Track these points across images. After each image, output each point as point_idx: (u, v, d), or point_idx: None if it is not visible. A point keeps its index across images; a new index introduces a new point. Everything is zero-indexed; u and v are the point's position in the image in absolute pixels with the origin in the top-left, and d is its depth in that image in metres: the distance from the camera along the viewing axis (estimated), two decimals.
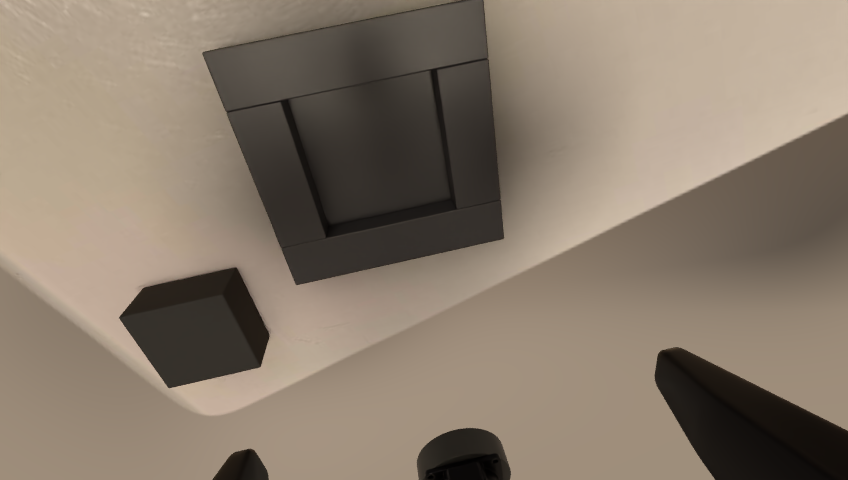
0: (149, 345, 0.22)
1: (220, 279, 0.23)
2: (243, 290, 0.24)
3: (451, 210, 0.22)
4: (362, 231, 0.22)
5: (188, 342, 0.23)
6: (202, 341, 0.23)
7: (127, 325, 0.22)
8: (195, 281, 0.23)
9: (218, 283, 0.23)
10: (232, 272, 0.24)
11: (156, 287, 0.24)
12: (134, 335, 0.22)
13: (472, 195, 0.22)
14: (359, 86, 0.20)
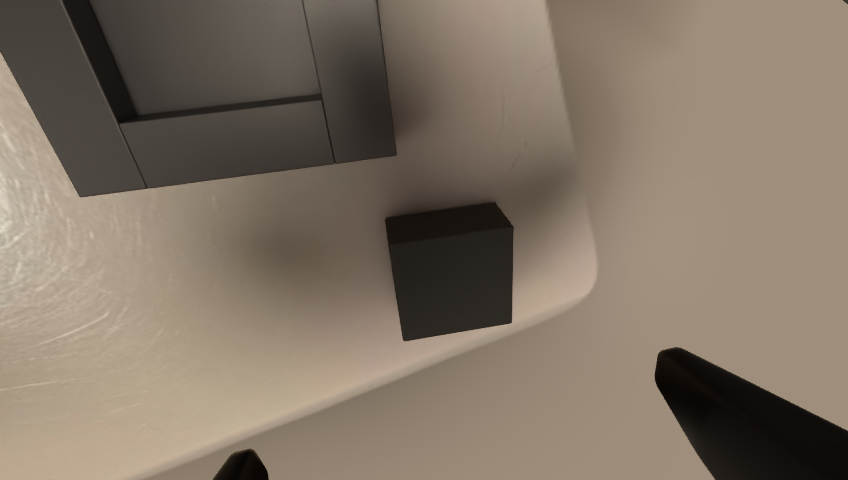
0: (445, 326, 0.20)
1: None
2: (413, 217, 0.19)
3: None
4: (311, 40, 0.14)
5: (451, 292, 0.19)
6: (453, 279, 0.19)
7: (414, 337, 0.20)
8: None
9: None
10: None
11: None
12: (429, 334, 0.20)
13: None
14: (100, 9, 0.14)
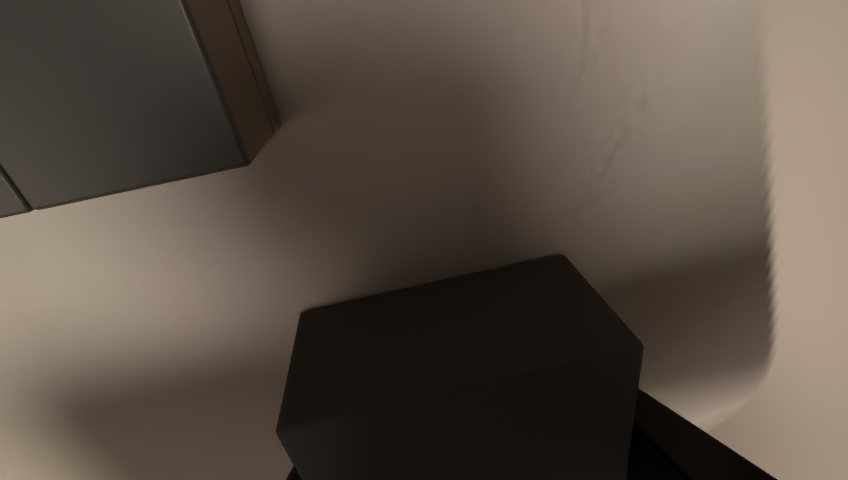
0: None
1: None
2: (366, 311, 0.08)
3: None
4: None
5: None
6: (476, 479, 0.07)
7: None
8: None
9: None
10: (297, 332, 0.08)
11: None
12: None
13: None
14: None
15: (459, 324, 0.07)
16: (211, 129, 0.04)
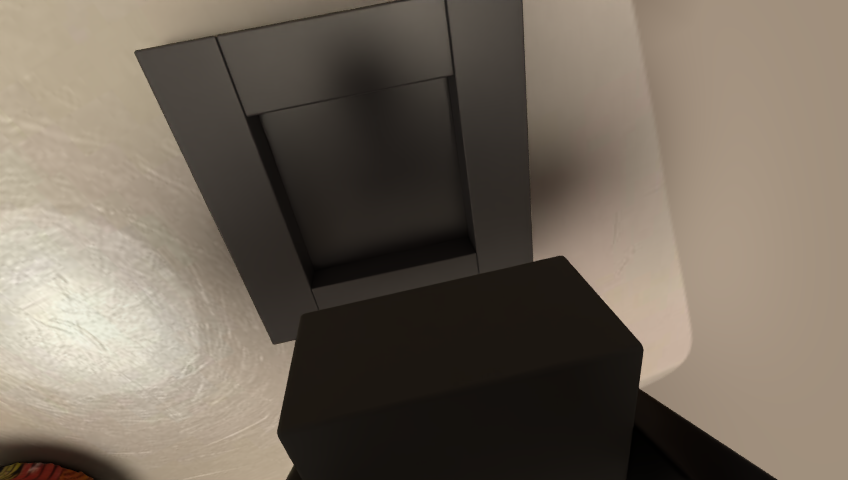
0: None
1: None
2: (367, 312, 0.08)
3: (456, 84, 0.14)
4: (473, 212, 0.16)
5: None
6: (476, 479, 0.07)
7: None
8: None
9: None
10: (298, 333, 0.08)
11: None
12: None
13: (432, 48, 0.13)
14: (294, 198, 0.17)
15: (460, 325, 0.07)
16: None
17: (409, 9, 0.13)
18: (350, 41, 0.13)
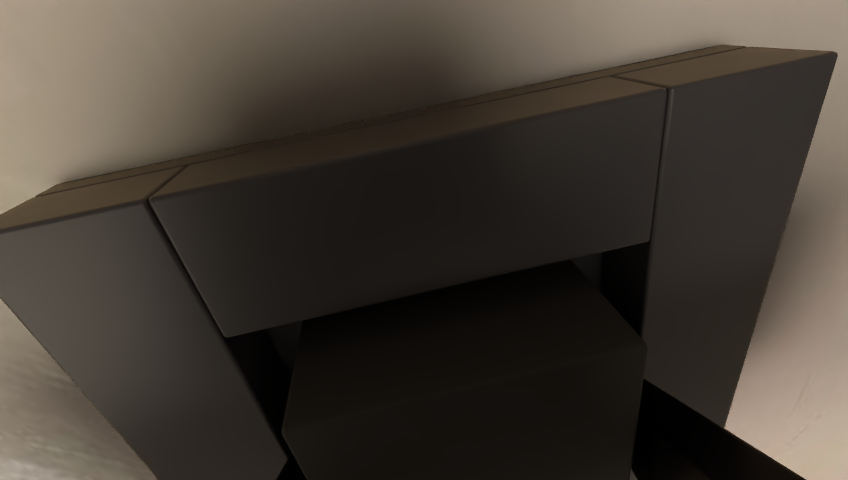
0: None
1: None
2: (370, 311, 0.08)
3: (649, 256, 0.07)
4: None
5: None
6: (480, 478, 0.07)
7: None
8: None
9: None
10: (301, 332, 0.08)
11: None
12: None
13: (619, 198, 0.06)
14: None
15: (463, 324, 0.07)
16: None
17: (587, 127, 0.06)
18: (451, 194, 0.06)
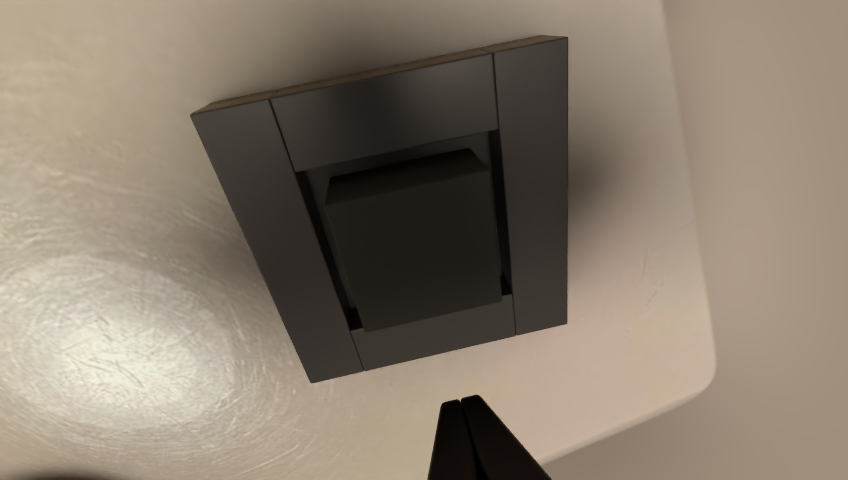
0: (416, 310, 0.16)
1: None
2: (364, 173, 0.15)
3: (500, 137, 0.14)
4: (511, 255, 0.17)
5: (417, 265, 0.15)
6: (418, 247, 0.14)
7: (378, 326, 0.16)
8: None
9: None
10: (329, 184, 0.15)
11: None
12: (396, 322, 0.16)
13: (479, 105, 0.13)
14: (334, 242, 0.17)
15: (410, 172, 0.14)
16: (562, 317, 0.19)
17: (458, 69, 0.13)
18: (399, 100, 0.13)
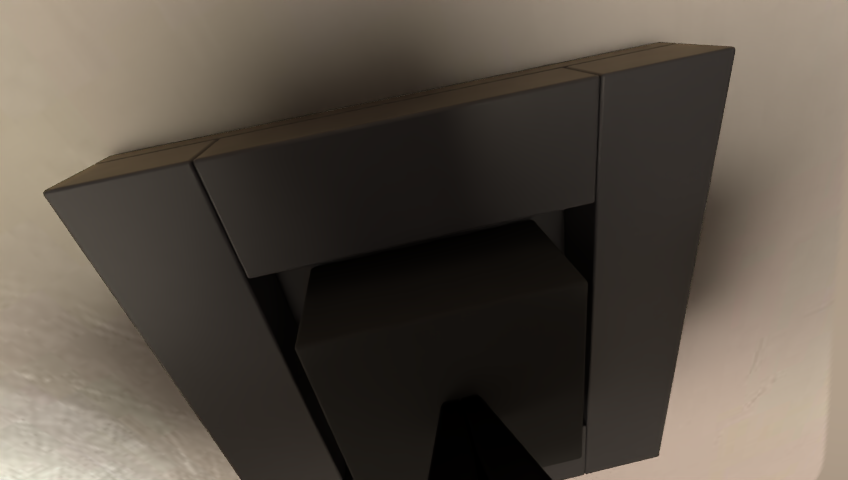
0: None
1: None
2: (366, 265, 0.09)
3: (595, 215, 0.08)
4: (591, 379, 0.11)
5: None
6: None
7: None
8: None
9: None
10: (309, 283, 0.09)
11: None
12: None
13: (567, 165, 0.08)
14: None
15: (443, 272, 0.09)
16: (653, 449, 0.13)
17: (536, 106, 0.07)
18: (429, 160, 0.07)
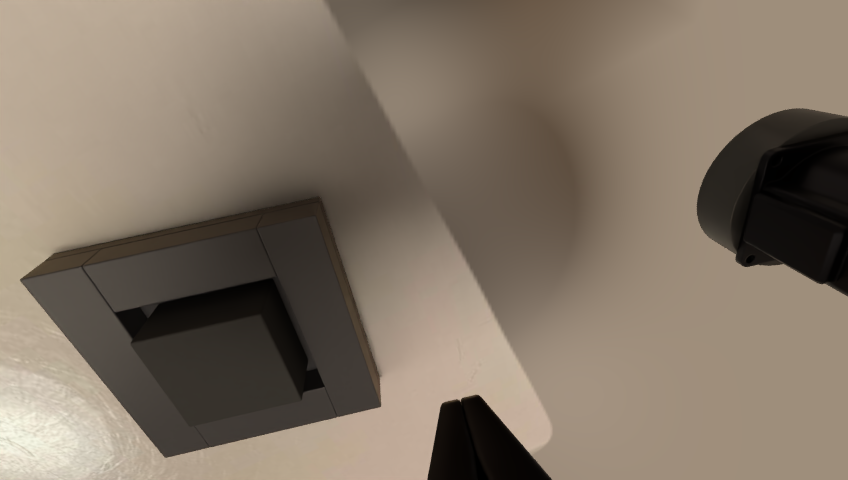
0: (229, 409, 0.19)
1: None
2: (182, 303, 0.19)
3: (279, 281, 0.18)
4: (314, 360, 0.20)
5: (219, 379, 0.18)
6: (216, 367, 0.18)
7: (199, 422, 0.20)
8: None
9: None
10: (154, 312, 0.19)
11: None
12: (214, 419, 0.20)
13: (255, 262, 0.17)
14: None
15: (211, 308, 0.18)
16: (374, 402, 0.22)
17: (230, 240, 0.17)
18: (188, 262, 0.17)
